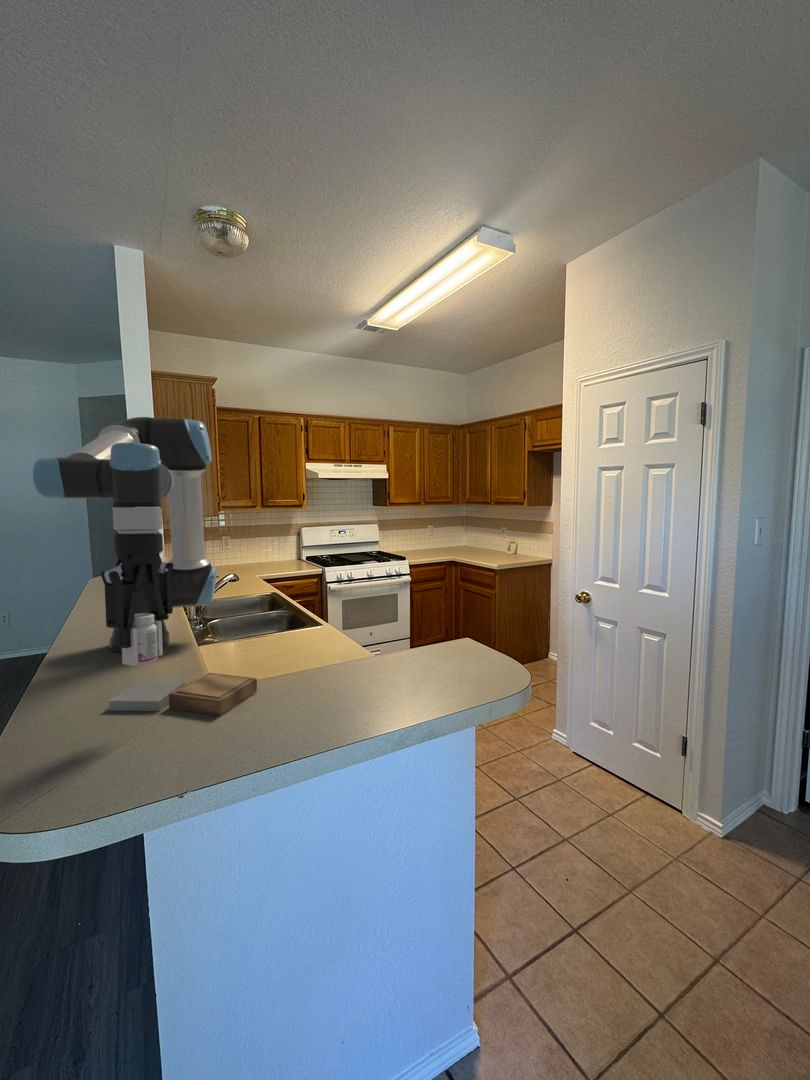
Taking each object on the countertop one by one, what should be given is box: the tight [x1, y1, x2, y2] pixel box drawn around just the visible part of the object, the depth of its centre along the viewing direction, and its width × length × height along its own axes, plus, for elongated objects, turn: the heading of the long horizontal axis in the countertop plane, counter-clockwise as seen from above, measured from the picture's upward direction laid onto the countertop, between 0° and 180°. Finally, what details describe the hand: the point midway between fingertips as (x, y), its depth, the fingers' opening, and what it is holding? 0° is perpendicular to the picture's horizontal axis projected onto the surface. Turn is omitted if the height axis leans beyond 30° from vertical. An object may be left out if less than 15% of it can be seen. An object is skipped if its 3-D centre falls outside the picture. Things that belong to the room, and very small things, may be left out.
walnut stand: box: [168, 672, 258, 717], centre depth 95 cm, size 12×12×3 cm
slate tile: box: [108, 680, 186, 712], centre depth 94 cm, size 10×10×2 cm
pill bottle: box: [132, 613, 159, 666], centre depth 82 cm, size 5×5×8 cm
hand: (143, 659), depth 83 cm, fingers closed on pill bottle, 5 cm apart
